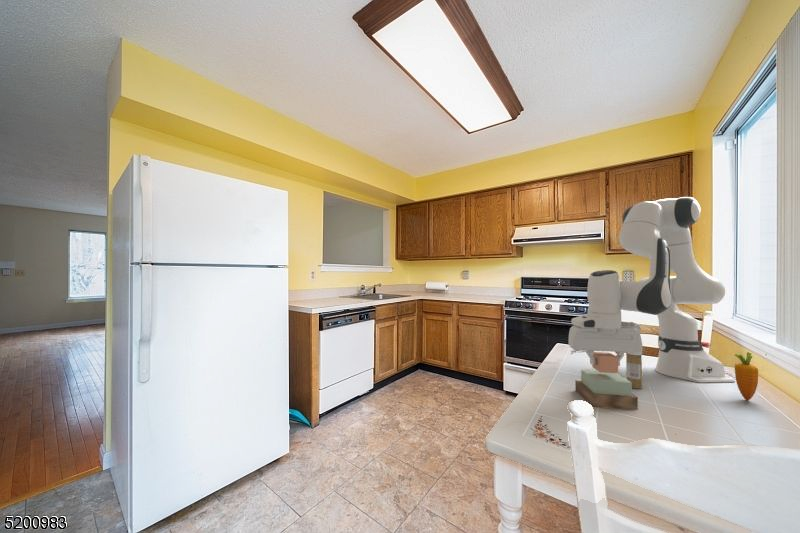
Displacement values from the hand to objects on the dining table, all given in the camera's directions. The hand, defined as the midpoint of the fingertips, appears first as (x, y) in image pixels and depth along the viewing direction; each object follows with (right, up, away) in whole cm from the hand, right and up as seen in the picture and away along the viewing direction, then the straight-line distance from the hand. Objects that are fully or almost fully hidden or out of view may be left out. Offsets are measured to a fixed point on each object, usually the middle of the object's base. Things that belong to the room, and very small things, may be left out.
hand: (604, 364), depth 93 cm
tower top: (0, -7, 0) cm, 7 cm away
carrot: (+44, -11, -1) cm, 46 cm away
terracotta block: (0, -2, 0) cm, 2 cm away
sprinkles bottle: (+18, -11, +10) cm, 23 cm away
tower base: (0, -11, 0) cm, 11 cm away
